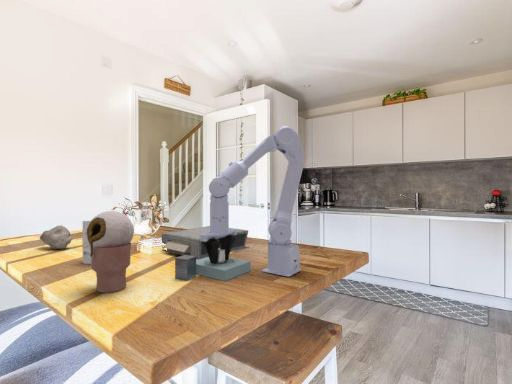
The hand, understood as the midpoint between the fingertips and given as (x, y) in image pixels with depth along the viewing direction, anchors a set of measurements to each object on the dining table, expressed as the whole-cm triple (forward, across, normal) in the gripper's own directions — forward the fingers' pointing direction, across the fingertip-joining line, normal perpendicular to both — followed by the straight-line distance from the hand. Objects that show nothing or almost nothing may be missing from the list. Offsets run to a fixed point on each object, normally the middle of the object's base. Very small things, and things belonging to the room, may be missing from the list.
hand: (219, 261), depth 90 cm
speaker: (+4, -20, -27) cm, 34 cm away
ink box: (+3, +16, -42) cm, 45 cm away
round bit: (+3, 0, 0) cm, 3 cm away
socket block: (+3, 0, 0) cm, 3 cm away
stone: (+3, +14, -80) cm, 81 cm away
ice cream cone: (+3, +27, -13) cm, 30 cm away
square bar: (+3, +10, -4) cm, 11 cm away
